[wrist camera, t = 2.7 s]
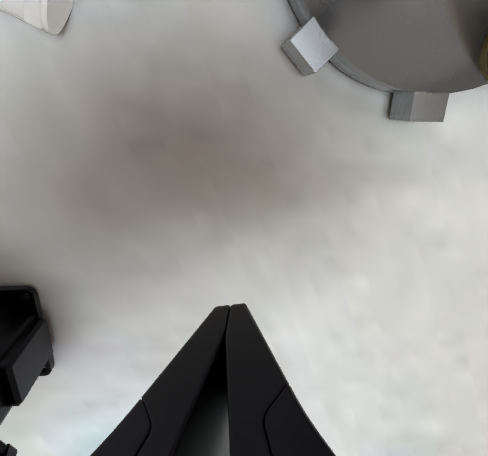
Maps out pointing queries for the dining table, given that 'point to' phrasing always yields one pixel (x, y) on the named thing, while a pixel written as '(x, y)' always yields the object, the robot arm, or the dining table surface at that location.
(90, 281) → the dining table surface
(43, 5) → the white brass knuckles
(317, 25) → the sprocket
